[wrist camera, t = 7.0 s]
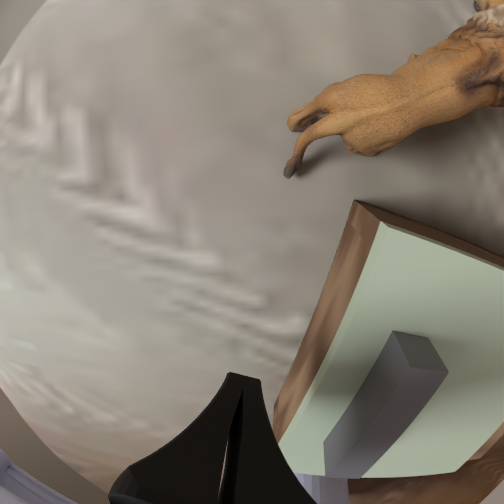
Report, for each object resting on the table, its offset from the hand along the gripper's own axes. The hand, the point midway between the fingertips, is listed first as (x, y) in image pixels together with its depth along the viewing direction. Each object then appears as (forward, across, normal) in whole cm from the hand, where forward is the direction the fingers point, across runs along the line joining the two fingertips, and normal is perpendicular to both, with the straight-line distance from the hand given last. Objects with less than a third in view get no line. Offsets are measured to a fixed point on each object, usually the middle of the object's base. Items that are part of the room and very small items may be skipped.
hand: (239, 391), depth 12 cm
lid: (+2, -12, 0) cm, 12 cm away
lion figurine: (+8, -4, -15) cm, 17 cm away
